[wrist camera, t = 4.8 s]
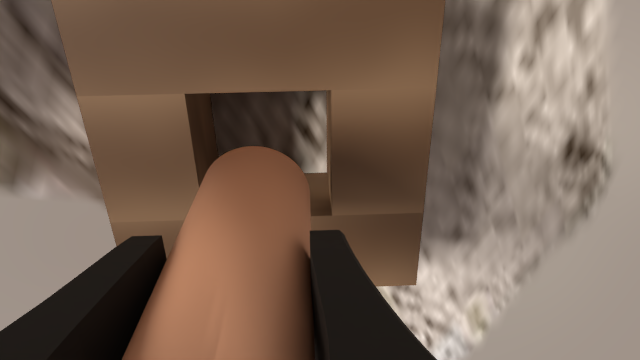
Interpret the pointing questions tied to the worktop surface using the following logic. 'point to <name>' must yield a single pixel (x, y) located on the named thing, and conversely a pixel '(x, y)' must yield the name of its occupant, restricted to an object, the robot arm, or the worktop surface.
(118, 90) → the walnut stand
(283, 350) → the peg
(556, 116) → the worktop surface
